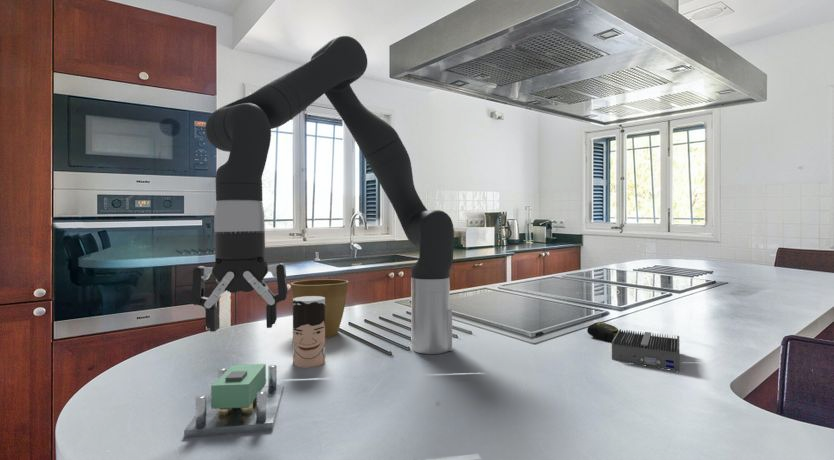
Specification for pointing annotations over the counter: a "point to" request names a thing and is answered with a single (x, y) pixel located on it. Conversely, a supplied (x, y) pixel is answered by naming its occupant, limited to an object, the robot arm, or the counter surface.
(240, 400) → the green block
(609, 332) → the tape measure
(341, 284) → the plant pot
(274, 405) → the chassis
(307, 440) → the counter surface
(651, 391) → the counter surface
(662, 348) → the electronic device
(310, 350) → the printed cylinder
